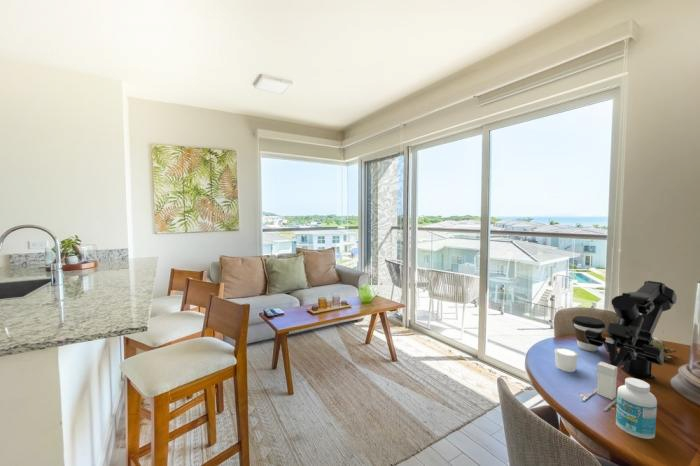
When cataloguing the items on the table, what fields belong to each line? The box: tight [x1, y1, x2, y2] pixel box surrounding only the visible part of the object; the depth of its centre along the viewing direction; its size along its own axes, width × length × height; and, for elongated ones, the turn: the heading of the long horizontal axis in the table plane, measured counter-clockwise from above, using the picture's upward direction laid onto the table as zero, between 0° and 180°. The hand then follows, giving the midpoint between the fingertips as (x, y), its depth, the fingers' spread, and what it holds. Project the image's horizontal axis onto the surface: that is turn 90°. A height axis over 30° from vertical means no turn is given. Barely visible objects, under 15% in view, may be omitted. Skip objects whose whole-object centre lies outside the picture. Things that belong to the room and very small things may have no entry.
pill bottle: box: [615, 377, 658, 440], centre depth 78 cm, size 8×7×14 cm
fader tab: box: [596, 361, 619, 401], centre depth 92 cm, size 3×4×10 cm
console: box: [579, 388, 617, 412], centre depth 91 cm, size 14×9×1 cm, turn 121°
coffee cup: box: [571, 315, 606, 352], centre depth 126 cm, size 11×11×12 cm
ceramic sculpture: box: [652, 335, 678, 360], centre depth 121 cm, size 11×9×15 cm
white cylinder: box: [554, 347, 579, 373], centre depth 109 cm, size 7×7×7 cm
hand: (612, 369), depth 94 cm, fingers closed
